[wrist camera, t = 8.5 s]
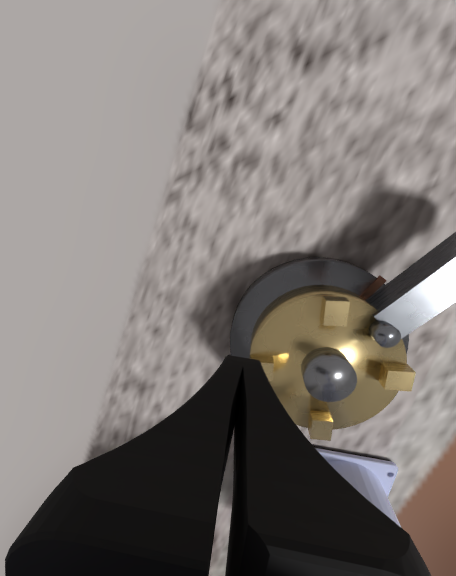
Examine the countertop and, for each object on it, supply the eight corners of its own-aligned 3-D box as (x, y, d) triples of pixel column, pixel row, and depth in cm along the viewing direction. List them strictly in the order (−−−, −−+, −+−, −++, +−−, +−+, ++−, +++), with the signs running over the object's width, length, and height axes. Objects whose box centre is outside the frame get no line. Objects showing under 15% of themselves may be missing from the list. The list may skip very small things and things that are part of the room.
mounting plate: (372, 415, 21) (381, 431, 19) (224, 390, 22) (221, 403, 20) (419, 269, 17) (435, 274, 16) (241, 247, 18) (240, 250, 17)
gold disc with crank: (307, 423, 19) (318, 469, 16) (224, 342, 18) (216, 372, 15) (542, 269, 15) (630, 286, 11) (449, 150, 14) (514, 128, 10)
